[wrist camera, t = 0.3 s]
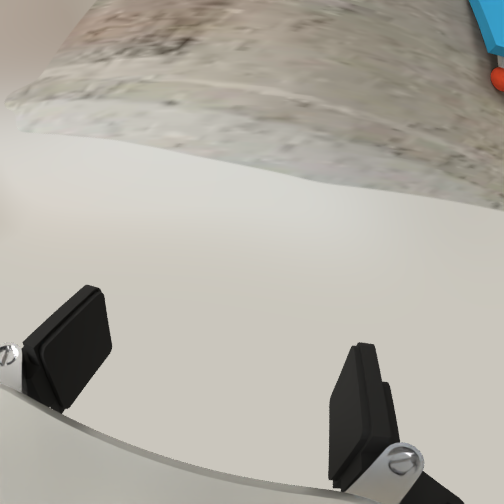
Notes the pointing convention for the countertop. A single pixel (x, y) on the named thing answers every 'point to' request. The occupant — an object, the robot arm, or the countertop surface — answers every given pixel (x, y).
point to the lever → (492, 33)
